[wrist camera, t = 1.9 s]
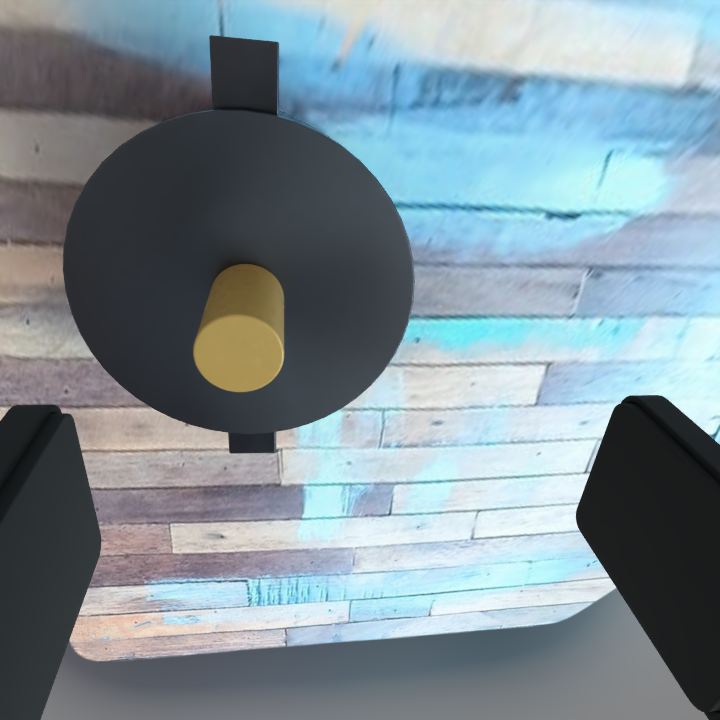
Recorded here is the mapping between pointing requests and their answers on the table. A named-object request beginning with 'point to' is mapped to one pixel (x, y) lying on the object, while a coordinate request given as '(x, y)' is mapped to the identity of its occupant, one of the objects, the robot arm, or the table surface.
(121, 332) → the lid
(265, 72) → the pot
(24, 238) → the table surface
